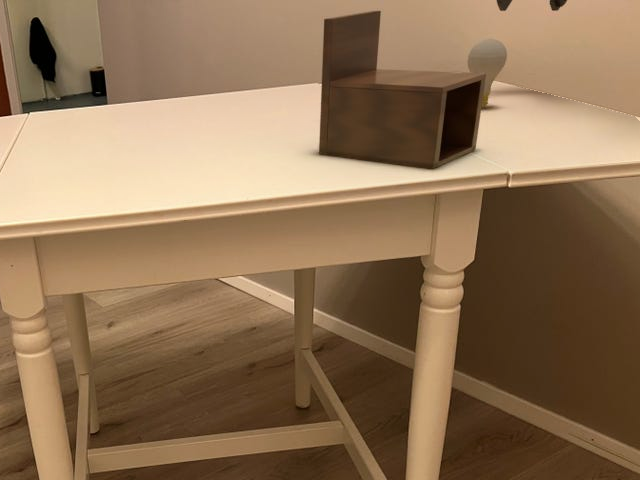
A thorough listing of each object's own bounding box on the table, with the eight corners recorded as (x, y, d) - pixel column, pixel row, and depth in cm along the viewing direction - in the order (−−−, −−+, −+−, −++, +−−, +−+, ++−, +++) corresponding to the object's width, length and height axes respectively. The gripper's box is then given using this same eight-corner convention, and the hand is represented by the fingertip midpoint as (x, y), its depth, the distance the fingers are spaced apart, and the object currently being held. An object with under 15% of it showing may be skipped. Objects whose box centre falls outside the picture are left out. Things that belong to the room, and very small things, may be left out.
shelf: (475, 149, 89) (496, 8, 81) (433, 169, 82) (451, 17, 74) (364, 137, 99) (372, 10, 91) (318, 154, 92) (323, 18, 85)
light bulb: (462, 111, 110) (471, 41, 105) (460, 105, 115) (469, 37, 110) (500, 110, 108) (511, 39, 104) (497, 104, 113) (507, 36, 108)
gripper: (531, -97, 111) (476, -10, 111) (627, -109, 101) (565, -13, 101) (544, -60, 116) (491, 24, 116) (636, -67, 106) (578, 24, 106)
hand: (526, 7), depth 109 cm, fingers open, 8 cm apart
